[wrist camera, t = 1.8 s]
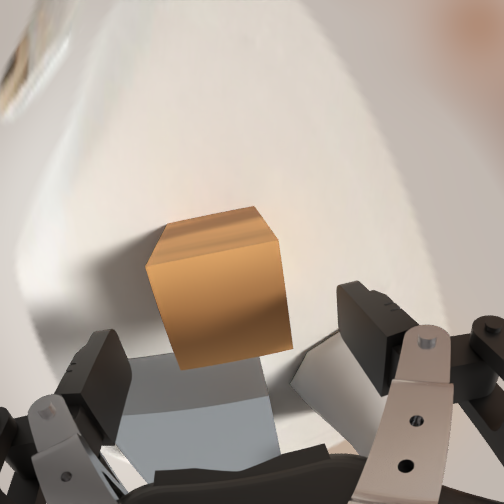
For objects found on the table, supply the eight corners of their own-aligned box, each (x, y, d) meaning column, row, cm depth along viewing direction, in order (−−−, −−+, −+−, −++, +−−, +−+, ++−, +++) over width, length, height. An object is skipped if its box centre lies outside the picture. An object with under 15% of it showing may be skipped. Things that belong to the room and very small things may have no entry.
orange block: (167, 223, 16) (145, 266, 10) (253, 205, 16) (278, 240, 10) (187, 301, 17) (180, 370, 12) (267, 285, 18) (293, 348, 12)
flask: (338, 415, 22) (384, 515, 13) (270, 385, 20) (305, 514, 11) (403, 351, 21) (478, 443, 12) (344, 307, 19) (432, 423, 9)
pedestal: (115, 360, 18) (96, 416, 13) (254, 338, 19) (268, 395, 14) (161, 444, 21) (157, 494, 16) (273, 428, 22) (286, 479, 17)
